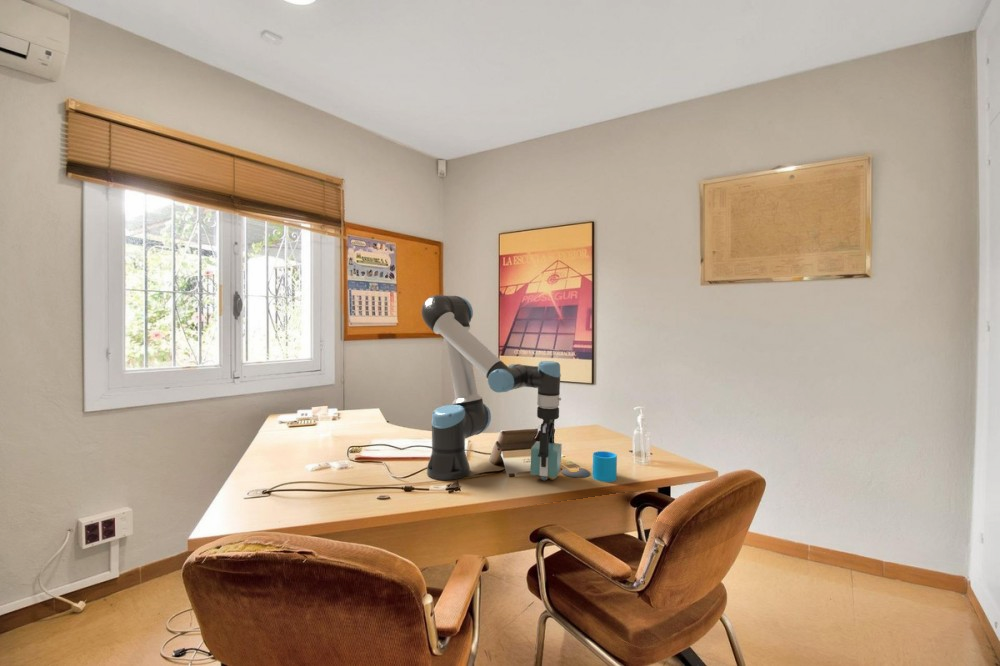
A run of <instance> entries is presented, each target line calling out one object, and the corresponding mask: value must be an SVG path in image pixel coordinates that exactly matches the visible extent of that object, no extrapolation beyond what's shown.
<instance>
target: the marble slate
mask: <svg viewBox="0 0 1000 666" xmlns="http://www.w3.org/2000/svg"><path fill="white" fill-rule="evenodd" d="M539 478H540V480H542V481H547V480H548V479H549V477H548V476H540V475H539Z"/></svg>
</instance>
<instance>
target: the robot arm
mask: <svg viewBox="0 0 1000 666" xmlns="http://www.w3.org/2000/svg"><path fill="white" fill-rule="evenodd" d="M473 315H474V310H473V307H472V304H471V303H470V301H469V300H468V299H466V298H464V297H462V296H457V295H443V294H436V295H435V294H434V295H431V296H430V297H428V298H427V299H425V300H424V302H423V304H422V306H421V317H422V319H423V322H424V323H425V324H426V325H427V327H428V328H429V329H430V330H431V331H432V332H433V333H434V334H436V335H441V336H442V337H443V338H444V339H445V345H446V350H447V356H448V363H449V369H450V373H451V381H452V386H453V392H454V400H453V401H452V403H451V404H448V405H442V406H439V407H437V408H435V409H434V410H433V412H432V414H431V416H432V419H431V455H430V457H429V461H428V464H427V467H426V475H427V476H428V477H430V478H432V479H436V480H441V481H442V480H443V481H445V480H446V481H448V480H449V481H450V480H451V481H452V480H458V479H463V478H466V477H467V476H468V475H469V474H470V471H471V469H470V463H469V460H468V457H467V454H466V448H465V447H466V446H465V445H466V439H468V438H471V437H473V436H477V435H480V434H481V433H483V432H485V431H486V430H487V429H488V428H489V427H490V424H491V421H492V419H491V418H492V414H491V410H490V408H489V407H488V406H487V404H485V403H484V400H483V397H482V396H481V395H480V394H478V390H477V384H476V378H475V373H474V367H475V368H476V369H477V370H478V371H479V372H480V373H482V374H483V376H484V377H485V378H487V383H488V386H489V388H490V390H491V391H492V392H495V393H508V392H509V391H513V390H516V389H520V388H524V387H526V388H534V389H537V402H536V403H537V408H536V416H537V418H538V419H541V420H542V423H540V435H539V436H540V437H539V441H540V447H539V454H538V457H540V474H539V475H538V476H539V477H540V476H548V448H549V443H555V420H558V419H559V418H560V408H559V406H560V401H561V400H562V398H561V397H560V389H561V376H562V374H561V365H560V362H557V361H553V360H552V361H551V360H543V361H542V360H541V361H538V362H539V363H538V365H528V364H527V365H526V364H525V365H524V364H519V363H518V364H514V363H513V364H509V365H507V364H506V363H504V362H503V361H502V360H501V359H500V358H499V357H498V356H496V354H494V353H493V352H492V351H491V350H490V349H489V348H488V347H487V346H486V345H485V344H484V343H482V342H481V340H479V339H478V338H477V337H476V336H474V335H473V334H472V332H470V331H469V330H470V329H471V325H470V323H471V321H472V319H473Z"/></svg>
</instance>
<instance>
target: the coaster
mask: <svg viewBox="0 0 1000 666" xmlns="http://www.w3.org/2000/svg"><path fill="white" fill-rule="evenodd" d="M578 468H579V471H578V472H570V471H568V470H566V469H564V468H562V469H561V470H560V471H561V474H562V475H563V476H566V477H569V478H576V479H577V478H579V479H580V478H581V479H582V478H587V477H589V475H591V472H590V470H588V469H586V468H583V467H578Z"/></svg>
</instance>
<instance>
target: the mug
mask: <svg viewBox="0 0 1000 666" xmlns="http://www.w3.org/2000/svg"><path fill="white" fill-rule="evenodd" d="M617 461H618V455H617V454H616V453H614V452H612V451H604V450H603V451H602V450H601V451H599V450H598V451H595V452H593V453H592V479H593V480H595V479H596V480H595V481H599V482H602V481H604V482H605V483H612V482H616V480H617V477H618V476H617V474H618V473H617V471H618V470H617V468H618V462H617ZM604 482H603V483H604Z"/></svg>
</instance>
